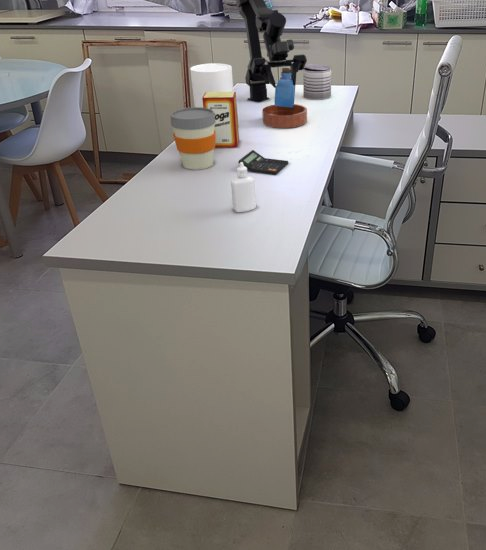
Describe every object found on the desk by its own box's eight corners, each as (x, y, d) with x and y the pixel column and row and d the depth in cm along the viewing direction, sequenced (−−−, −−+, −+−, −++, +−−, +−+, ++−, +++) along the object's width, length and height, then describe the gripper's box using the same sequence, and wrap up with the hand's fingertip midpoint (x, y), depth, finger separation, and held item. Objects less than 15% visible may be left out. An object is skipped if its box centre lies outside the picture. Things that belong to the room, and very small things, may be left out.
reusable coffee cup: (226, 158, 171) (222, 108, 163) (207, 173, 161) (201, 121, 153) (189, 154, 175) (183, 105, 167) (168, 169, 165) (161, 117, 157)
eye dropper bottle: (234, 205, 142) (230, 159, 136) (256, 205, 142) (253, 159, 136) (232, 212, 139) (228, 166, 132) (255, 212, 139) (252, 165, 132)
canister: (189, 131, 195) (182, 70, 185) (209, 120, 206) (203, 62, 195) (224, 135, 191) (218, 73, 180) (242, 123, 201) (238, 64, 191)
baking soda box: (239, 140, 186) (235, 90, 177) (237, 147, 180) (233, 95, 172) (210, 141, 186) (205, 91, 177) (207, 147, 180) (202, 96, 172)
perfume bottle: (292, 107, 197) (294, 71, 191) (274, 105, 197) (276, 69, 191) (294, 103, 202) (296, 68, 196) (276, 101, 202) (278, 66, 196)
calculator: (275, 175, 160) (275, 164, 158) (238, 170, 163) (237, 160, 161) (288, 163, 167) (287, 153, 165) (252, 159, 170) (251, 149, 169)
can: (301, 93, 237) (301, 63, 230) (329, 92, 238) (329, 62, 231) (305, 100, 227) (304, 69, 221) (333, 99, 228) (333, 68, 222)
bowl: (253, 123, 202) (253, 110, 199) (283, 113, 212) (282, 101, 209) (287, 131, 193) (286, 118, 191) (315, 120, 203) (315, 108, 201)
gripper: (251, 33, 187) (262, 74, 184) (304, 29, 193) (316, 69, 190) (246, 53, 198) (257, 93, 195) (297, 49, 203) (308, 88, 200)
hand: (285, 86), depth 195 cm, fingers closed on perfume bottle, 7 cm apart
